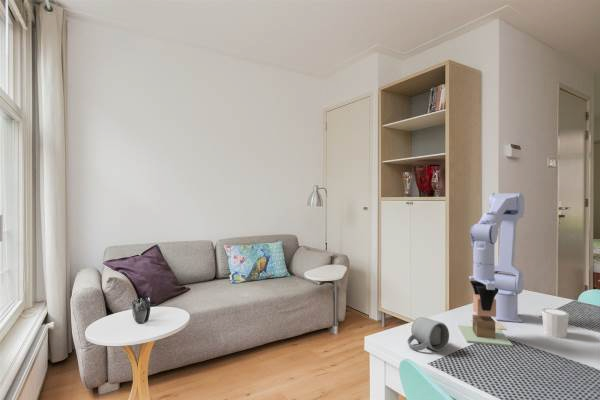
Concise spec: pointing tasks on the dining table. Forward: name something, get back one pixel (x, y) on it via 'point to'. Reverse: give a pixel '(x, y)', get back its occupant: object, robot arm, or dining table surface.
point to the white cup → (555, 322)
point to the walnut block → (484, 326)
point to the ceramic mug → (429, 334)
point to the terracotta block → (478, 308)
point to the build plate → (472, 338)
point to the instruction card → (498, 325)
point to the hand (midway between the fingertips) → (483, 307)
